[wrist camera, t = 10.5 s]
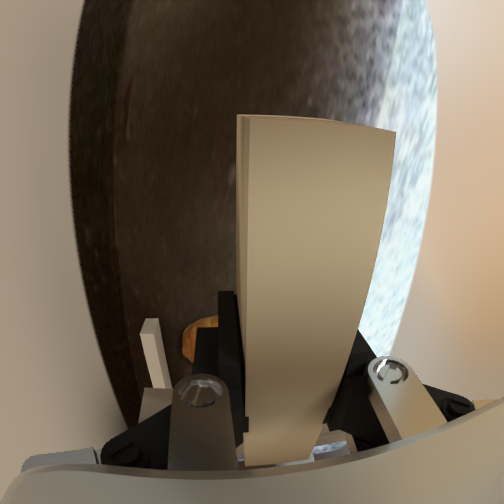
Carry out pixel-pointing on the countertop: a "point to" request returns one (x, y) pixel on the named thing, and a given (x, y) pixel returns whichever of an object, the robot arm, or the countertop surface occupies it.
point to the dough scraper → (300, 271)
